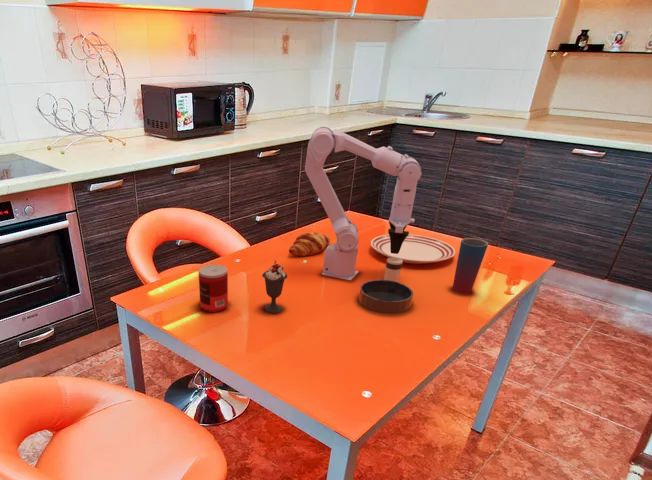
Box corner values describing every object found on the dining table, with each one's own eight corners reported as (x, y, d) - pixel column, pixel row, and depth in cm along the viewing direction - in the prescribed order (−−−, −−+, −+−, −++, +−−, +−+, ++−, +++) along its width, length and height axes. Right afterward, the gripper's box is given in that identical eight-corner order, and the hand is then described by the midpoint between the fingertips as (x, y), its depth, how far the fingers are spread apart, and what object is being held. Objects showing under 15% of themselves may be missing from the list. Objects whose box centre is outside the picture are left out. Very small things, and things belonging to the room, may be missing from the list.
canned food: (231, 301, 136) (231, 265, 130) (222, 314, 129) (221, 277, 124) (206, 298, 138) (205, 262, 132) (196, 310, 132) (194, 273, 126)
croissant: (321, 250, 178) (315, 229, 177) (342, 243, 170) (336, 222, 169) (283, 264, 166) (276, 242, 165) (304, 258, 158) (297, 235, 157)
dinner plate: (385, 235, 181) (386, 227, 179) (462, 250, 167) (464, 241, 165) (357, 258, 162) (358, 249, 160) (440, 277, 148) (443, 267, 146)
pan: (351, 307, 132) (353, 294, 130) (367, 288, 142) (369, 276, 140) (402, 319, 125) (405, 306, 123) (415, 299, 136) (418, 286, 133)
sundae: (269, 316, 128) (271, 264, 120) (256, 306, 133) (258, 255, 125) (290, 311, 130) (293, 259, 123) (276, 301, 136) (279, 251, 128)
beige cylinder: (380, 285, 143) (385, 260, 139) (385, 280, 147) (389, 255, 142) (395, 289, 141) (400, 263, 137) (399, 283, 144) (404, 258, 140)
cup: (476, 297, 136) (491, 247, 128) (451, 295, 137) (464, 245, 129) (471, 287, 142) (484, 238, 134) (446, 285, 143) (458, 237, 135)
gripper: (418, 211, 129) (408, 258, 137) (416, 197, 141) (408, 241, 148) (391, 209, 131) (383, 256, 138) (392, 196, 143) (384, 239, 150)
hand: (394, 248), depth 144 cm, fingers open, 7 cm apart
